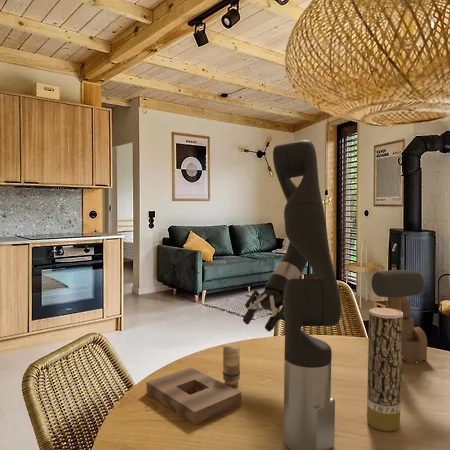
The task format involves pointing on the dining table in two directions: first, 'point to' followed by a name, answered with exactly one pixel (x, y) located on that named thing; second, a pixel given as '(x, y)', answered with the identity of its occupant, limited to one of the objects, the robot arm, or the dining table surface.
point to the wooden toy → (411, 335)
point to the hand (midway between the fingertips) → (255, 326)
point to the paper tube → (384, 368)
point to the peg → (231, 364)
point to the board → (193, 395)
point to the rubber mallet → (397, 285)
